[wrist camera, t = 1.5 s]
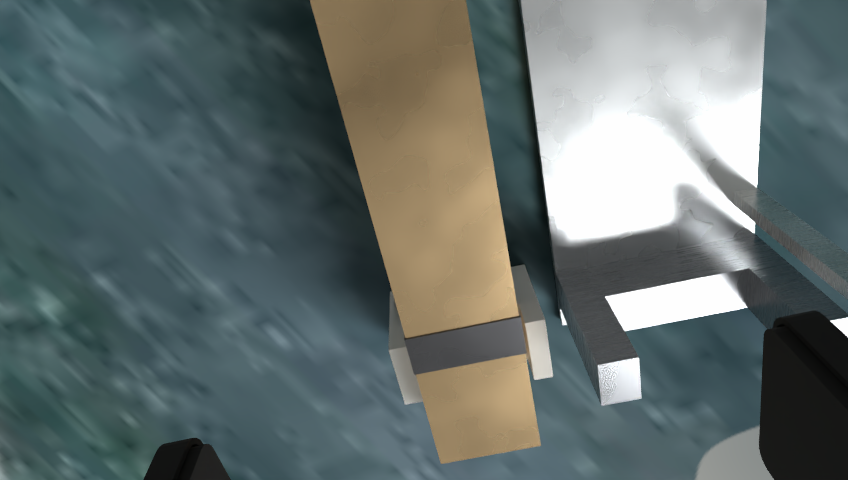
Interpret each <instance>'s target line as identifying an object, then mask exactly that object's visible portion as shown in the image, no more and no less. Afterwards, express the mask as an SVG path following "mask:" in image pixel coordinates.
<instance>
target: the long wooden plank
mask: <svg viewBox="0 0 848 480" xmlns="http://www.w3.org/2000/svg"><path fill="white" fill-rule="evenodd" d="M310 3H311V7H312V10H313V14H314V17H315V21H316V24H317V28H318V31H319V35H320V38H321V42H322V45H323V49H324V53H325V56H326V60H327V63H328V67H329V70H330V74H331V77H332V81H333V84H334V88H335V91H336V95H337V98H338V102H339V105H340V109H341V113H342V116H343V120H344V123H345V127H346V130H347V134H348V137H349V141H350V144H351V148H352V151H353V155H354V158H355V162H356V165H357V169H358V173H359V176H360V180H361V183H362V187H363V190H364V194H365V197H366V201H367V204H368V208H369V211H370V215H371V218H372V222H373V225H374V229H375V233H376V236H377V240H378V243H379V247H380V250H381V254H382V257H383V261H384V264H385V268H386V271H387V275H388V278H389V282H390V285H391V289H392V293H393V296H394V300H395V303H396V307H397V310H398V314H399V317H400V321H401V324H402V328H403V331H404V341H405V344H406V348H407V351H408V355H409V358H410V362H411V365H412V369H413V373H414V375H416V377H417V381H418V384H419V388H420V391H421V395H422V398H423V402H424V405H425V409H426V413H427V416H428V420H429V423H430V427H431V430H432V434H433V437H434V441H435V444H436V448H437V451H438V455H439V458H440V462H441V464H443V463H449V462H454V461H460V460H465V459H471V458H476V457H482V456H487V455H492V454H498V453H503V452H509V451H514V450H520V449H525V448H531V447H536V446H541V443H540V438H539V432H538V426H537V420H536V414H535V408H534V402H533V396H532V390H531V384H530V378H529V372H528V366H527V360H526V355H525V354H526V353H527V351H526V345H525V339H524V333H523V327H522V321H521V316H520V313H519V310H518V307H517V301H516V295H515V289H514V283H513V277H512V272H511V266H510V260H509V254H508V248H507V242H506V236H505V230H504V224H503V218H502V212H501V206H500V200H499V195H498V189H497V183H496V177H495V171H494V165H493V159H492V153H491V147H490V141H489V135H488V129H487V123H486V117H485V112H484V106H483V100H482V94H481V88H480V82H479V76H478V70H477V64H476V58H475V52H474V46H473V40H472V34H471V29H470V23H469V17H468V11H467V5H466V0H310Z"/></svg>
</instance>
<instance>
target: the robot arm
mask: <svg viewBox="0 0 848 480" xmlns="http://www.w3.org/2000/svg"><path fill="white" fill-rule="evenodd" d="M759 449H760V454H761V457H762V460H763V462H764V464H765V466H766V468H767V470H768V471H769V473H770V474H771V476H772V477H773V478H774V480H848V337H847V336H846V335H845V334H844V333H843V332H842V331H841V330H840V329H839V328H837V327H836V326H835V325H834V324H833V323H832V322H831V321H830V320H829V319H828V318H826V317H825V316H824V315H823V314H821V313H820V312H819V311H815V310H812V311H808V312H803V313H798V314H793V315H788V316H783V317H779V318H776V319H775V321H774V323H773V328H771V329H767V330H766V331H765V332H764V343H763V366H762V389H761V412H760V436H759ZM144 480H231V479H230V478H229V476H228V474H227V472H226V470H225V469H224V467H223V465H222V463H221V461H220V460H219V458H218V456H217V454H216V452H215V451H214V449H213V447H212V446H211V445H209V444H203V443H202V442H201V440H199V439H198V438H190V439H186V440H181V441H176V442H171V443H166V444H163V445H161V446H160V447H159V448H158V450H157V452H156V454H155V456H154V458H153V460H152V462H151V464H150V467H149V469H148V471H147V473H146V475H145V477H144Z"/></svg>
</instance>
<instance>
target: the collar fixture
mask: <svg viewBox="0 0 848 480" xmlns="http://www.w3.org/2000/svg"><path fill="white" fill-rule="evenodd" d="M766 1H767V0H519V8H520V15H521V23H522V31H523V39H524V46H525V54H526V62H527V69H528V77H529V85H530V92H531V100H532V108H533V115H534V123H535V131H536V139H537V146H538V154H539V162H540V169H541V177H542V185H543V192H544V200H545V208H546V216H547V223H548V231H549V239H550V246H551V254H552V262H553V269H554V277H555V285H556V293H557V300H558V308H559V316H560V321H561V323H562V325H567V326H568V328H569V330H570V333H571V335H572V337H573V340H574V342H575V344H576V347H577V349H578V351H579V354H580V356H581V358H582V361H583V363H584V366H585V368H586V370H587V373H588V375H589V377H590V380H591V382H592V384H593V387H594V389H595V391H596V394H597V396H598V398H599V401H600V403H601V406H603V405H608V404H614V403H619V402H624V401H630V400H635V399H641V385H640V367H639V357H638V355H637V353H636V351H635V349H634V348H633V346H632V344H631V342H630V340H629V339H628V337H627V335H626V333H625V332H624V331H628V330H633V329H638V328H644V327H649V326H654V325H659V324H664V323H669V322H675V321H680V320H685V319H690V318H695V317H701V316H706V315H711V314H716V313H721V312H726V311H732V310H737V309H742V308H747V307H748V308H749V310H750V311H751V312H752V313H753V314H754V315H755V316H756V317H757V318H758V319H759V320H760V322H761V323H762V324H763V325H764V326H765V327H766V328H767V329H771V328H773V323H774V321H775V319H776V318H779V317H783V316H788V315H793V314H798V313H803V312H808V311H812V310H815V311H819V312H820V313H821V314H823V315H824V316H825V317H826V318H828V319H829V320H830V321H831V322H832V323H833V324H834V325H835V326H836V327H837V328H839V329H840V330H841V331H842V332H843V333H844V334H845V335H846V336H847V337H848V314H847V313H846V312H845V311H844V310H843V309H841V308H840V307H839V306H838V305H837V304H836V303H834V302H833V301H832V300H831V299H830V298H829V297H828V296H826V295H825V294H824V293H823V292H822V291H821V290H819V289H818V288H817V287H816V286H815V285H814V284H812V283H811V282H810V281H809V280H808V279H807V278H805V277H804V276H803V275H802V274H801V273H800V272H799V271H797V270H796V269H795V268H794V267H793V266H792V265H790V264H789V263H788V262H787V261H786V260H785V259H783V258H782V257H781V256H780V255H779V254H778V253H776V252H775V251H774V250H773V249H772V248H771V247H770V246H768V245H767V244H766V243H765V242H764V241H763V240H761V239H760V238H759V237H758V236H757V235H756V234H754V231H755V223H756V224H757V225H758V226H760V227H761V228H762V229H763V230H764V231H766V232H767V233H768V234H769V235H770V236H772V237H773V238H774V239H775V240H777V241H778V242H779V243H780V244H781V245H783V246H784V247H785V248H786V249H787V250H789V251H790V252H791V253H792V254H793V255H795V256H796V257H797V258H798V259H799V260H801V261H802V262H803V263H804V264H805V265H807V266H808V267H809V268H810V269H811V270H813V271H814V272H815V273H816V274H817V275H819V276H820V277H821V278H822V279H823V280H825V281H826V282H827V283H828V284H829V285H831V286H832V287H833V288H834V289H836V290H837V291H838V292H839V293H840V294H842V295H843V296H844V297H845V298H846V299H848V253H847V252H845V251H844V250H842V249H841V248H840V247H838V246H837V245H836V244H834V243H833V242H831V241H830V240H829V239H827V238H826V237H825V236H823V235H822V234H820V233H819V232H818V231H816V230H815V229H814V228H812V227H811V226H809V225H808V224H807V223H805V222H804V221H803V220H801V219H800V218H798V217H797V216H796V215H794V214H793V213H792V212H790V211H789V210H787V209H786V208H785V207H783V206H782V205H781V204H779V203H778V202H776V201H775V200H774V199H772V198H771V197H770V196H768V195H767V194H765V193H764V192H763V191H761V190H760V189H759V188H757V174H758V154H759V135H760V116H761V97H762V78H763V59H764V40H765V20H766Z"/></svg>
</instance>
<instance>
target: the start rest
mask: <svg viewBox="0 0 848 480" xmlns="http://www.w3.org/2000/svg"><path fill="white" fill-rule="evenodd" d="M511 272H512V277H513V283H514V289H515V295H516V301H517V307H518V310H519V313H520V316H521V321H522V327H523V333H524V339H525V345H526V351H527V353H526V354H525V355H526V359H528V360H529V364H530V367H531V370H532V374H533V377H534V380H537V379H543V378H548V377H553V372H552V365H551V358H550V351H549V344H548V337H547V330H546V323H545V318H544V316H543V313H542V310H541V308H540V305H539V302H538V300H537V297H536V294H535V292H534V289H533V286H532V284H531V281H530V278H529V275H528V273H527V270H526V267H525V265H519V266H514V267H511ZM389 353H390V356H391V359H392V363H393V366H394V369H395V373H396V376H397V379H398V383H399V386H400V389H401V392H402V396H403V399H404V402H405V405H406V404H411V403H416V402H422V401H423V398H422V395H421V391H420V388H419V384H418V381H417V377H416V375H414V373H413V369H412V365H411V362H410V358H409V355H408V351H407V348H406V344H405V341H404V331H403V328H402V324H401V321H400V317H399V314H398V310H397V307H396V303H395V300H394V296H393V293H392V291H390V312H389Z"/></svg>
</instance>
